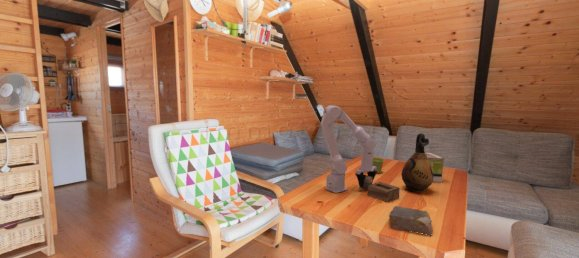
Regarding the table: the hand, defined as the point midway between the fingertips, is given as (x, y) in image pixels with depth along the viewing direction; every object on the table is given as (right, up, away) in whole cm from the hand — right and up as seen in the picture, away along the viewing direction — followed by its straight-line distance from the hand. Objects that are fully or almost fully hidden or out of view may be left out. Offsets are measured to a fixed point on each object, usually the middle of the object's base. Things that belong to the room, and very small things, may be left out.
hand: (365, 185), depth 146 cm
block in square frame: (+6, -3, -10) cm, 12 cm away
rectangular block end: (0, -2, 0) cm, 2 cm away
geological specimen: (+6, -8, -41) cm, 42 cm away
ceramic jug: (+27, -3, +1) cm, 27 cm away
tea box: (+43, -1, +21) cm, 48 cm away
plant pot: (+16, +1, +32) cm, 36 cm away
